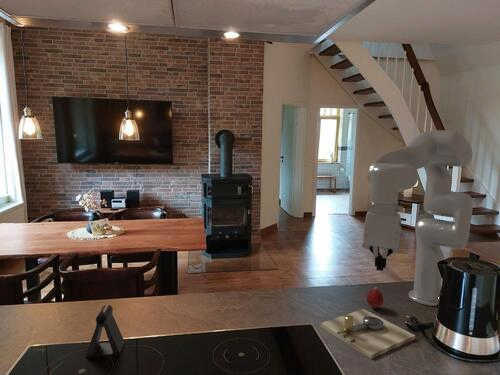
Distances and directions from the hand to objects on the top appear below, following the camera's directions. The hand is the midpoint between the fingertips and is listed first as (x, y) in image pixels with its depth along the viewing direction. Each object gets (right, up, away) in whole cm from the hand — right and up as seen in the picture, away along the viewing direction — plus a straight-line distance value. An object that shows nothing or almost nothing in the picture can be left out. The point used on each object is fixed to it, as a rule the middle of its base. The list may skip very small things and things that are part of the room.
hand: (380, 269), depth 104 cm
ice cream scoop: (-4, -20, +6) cm, 21 cm away
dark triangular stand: (-80, -22, -5) cm, 83 cm away
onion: (+6, -20, +23) cm, 31 cm away
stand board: (-2, -22, +6) cm, 23 cm away
